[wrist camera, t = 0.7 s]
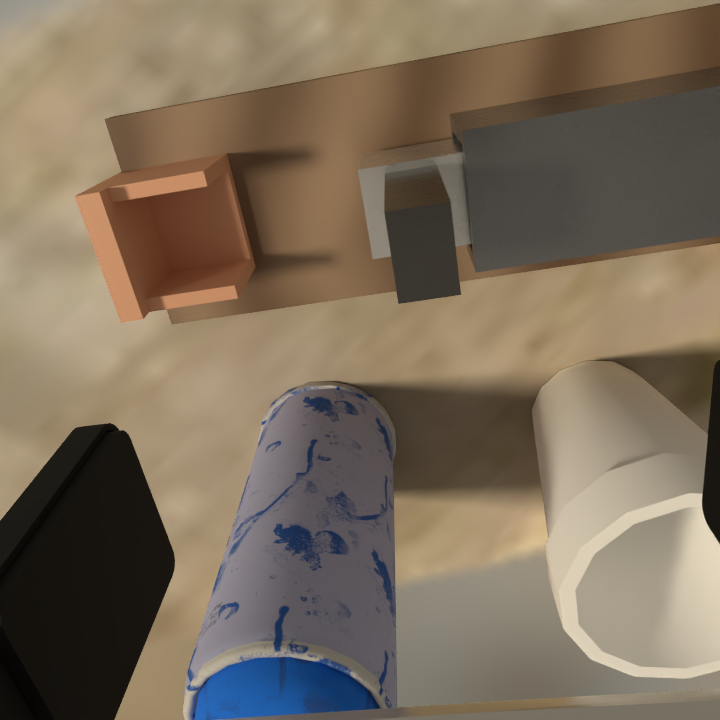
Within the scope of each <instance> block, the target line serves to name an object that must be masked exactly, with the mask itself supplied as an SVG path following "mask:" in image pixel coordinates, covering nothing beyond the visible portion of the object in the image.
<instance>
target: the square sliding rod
mask: <svg viewBox="0 0 720 720" xmlns="http://www.w3.org/2000/svg"><path fill="white" fill-rule="evenodd" d="M358 175H359V181H360V186H361V192H362V198H363V204H364V210H365V216H366V222H367V228H368V234H369V240H370V246H371V251H372V257H373V259H378V258H384V257H391V258H392V265H393V271H394V278H395V284H396V290H397V297H398V303H399V304H400V303H407V302H414V301H421V300H427V299H434V298H441V297H448V296H455V295H461V291H460V282H459V273H458V264H457V255H456V246H462V245H468V244H472V240H471V230H470V220H469V210H468V199H467V189H466V179H465V169H464V158H463V148H462V144H461V143H460V141H459V140H458V138H453V139H447V140H442V141H436V142H430V143H424V144H418V145H413V146H407V147H401V148H395V149H389V150H384V151H378V152H372V153H366V154H361V157H360V161H359V166H358Z"/></svg>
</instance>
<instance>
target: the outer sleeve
mask: <svg viewBox="0 0 720 720" xmlns="http://www.w3.org/2000/svg"><path fill="white" fill-rule="evenodd" d="M449 117H450V126H451V136H452V139H453V138H458V140H459V141H460V143H461V144H462V148H463V158H464V169H465V179H466V189H467V199H468V210H469V220H470V230H471V240H472V244H468V245H466V247H467V250H468V253H469V255H470V258H471V261H472V263H473V266H474V269H475V271H476V273H477V272H483V271H490V270H497V269H503V268H510V267H517V266H523V265H530V264H537V263H543V262H550V261H557V260H564V259H570V258H577V257H584V256H590V255H597V254H604V253H610V252H617V251H624V250H630V249H637V248H644V247H651V246H657V245H664V244H671V243H677V242H684V241H691V240H697V239H704V238H711V237H717V236H720V66H718V67H712V68H707V69H701V70H695V71H690V72H684V73H678V74H673V75H667V76H661V77H656V78H650V79H644V80H639V81H633V82H627V83H622V84H616V85H610V86H605V87H599V88H593V89H588V90H582V91H576V92H571V93H565V94H560V95H554V96H548V97H543V98H537V99H531V100H526V101H520V102H514V103H509V104H503V105H497V106H492V107H486V108H480V109H475V110H469V111H463V112H458V113H452V114H449Z"/></svg>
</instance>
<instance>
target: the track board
mask: <svg viewBox="0 0 720 720" xmlns="http://www.w3.org/2000/svg"><path fill="white" fill-rule="evenodd" d="M718 66H720V4H714V5H709V6H703V7H698V8H693V9H687V10H682V11H677V12H671V13H666V14H661V15H655V16H650V17H645V18H639V19H634V20H628V21H623V22H618V23H612V24H607V25H602V26H596V27H591V28H586V29H580V30H575V31H570V32H564V33H559V34H553V35H548V36H543V37H537V38H532V39H527V40H521V41H516V42H511V43H505V44H500V45H495V46H489V47H484V48H479V49H473V50H468V51H462V52H457V53H452V54H446V55H441V56H436V57H430V58H425V59H420V60H414V61H409V62H404V63H398V64H393V65H387V66H382V67H377V68H371V69H366V70H361V71H355V72H350V73H345V74H339V75H334V76H329V77H323V78H318V79H312V80H307V81H302V82H296V83H291V84H286V85H280V86H275V87H270V88H264V89H259V90H254V91H248V92H243V93H238V94H232V95H227V96H221V97H216V98H211V99H205V100H200V101H195V102H189V103H184V104H179V105H173V106H168V107H163V108H157V109H152V110H146V111H141V112H136V113H130V114H125V115H120V116H114V117H111V118H107V119H105V122H106V125H107V128H108V131H109V134H110V137H111V140H112V143H113V147H114V150H115V153H116V156H117V159H118V162H119V165H120V168H121V171H122V172H124V171H129V170H135V169H141V168H146V167H152V166H158V165H163V164H169V163H175V162H180V161H186V160H192V159H197V158H203V157H209V156H214V155H220V154H226V153H227V156H228V160H229V164H230V168H231V171H232V175H233V179H234V183H235V187H236V191H237V195H238V199H239V203H240V207H241V211H242V215H243V219H244V223H245V227H246V231H247V234H248V238H249V242H250V246H251V250H252V254H253V258H254V262H255V266H256V267H255V269H254V271H253V273H252V274H251V276H250V278H249V280H248V282H247V283H246V285H245V287H244V289H243V290H242V292H241V294H240V296H239V298H237V299H231V300H224V301H217V302H211V303H204V304H198V305H191V306H184V307H178V308H171V309H167V311H168V314H169V317H170V320H171V323H172V324H177V323H184V322H190V321H197V320H204V319H211V318H217V317H224V316H231V315H238V314H244V313H251V312H258V311H265V310H271V309H278V308H285V307H292V306H298V305H305V304H312V303H318V302H325V301H332V300H339V299H345V298H352V297H359V296H366V295H372V294H379V293H386V292H393V291H397V290H396V284H395V278H394V271H393V265H392V258H391V257H384V258H378V259H373V257H372V251H371V246H370V240H369V234H368V228H367V222H366V216H365V210H364V204H363V198H362V192H361V186H360V181H359V175H358V166H359V161H360V157H361V154H366V153H372V152H378V151H384V150H389V149H395V148H401V147H407V146H413V145H418V144H424V143H430V142H436V141H442V140H447V139H452V136H451V126H450V117H449V114H452V113H458V112H463V111H469V110H475V109H480V108H486V107H492V106H497V105H503V104H509V103H514V102H520V101H526V100H531V99H537V98H543V97H548V96H554V95H560V94H565V93H571V92H576V91H582V90H588V89H593V88H599V87H605V86H610V85H616V84H622V83H627V82H633V81H639V80H644V79H650V78H656V77H661V76H667V75H673V74H678V73H684V72H690V71H695V70H701V69H707V68H712V67H718ZM716 243H720V236H717V237H711V238H704V239H697V240H691V241H684V242H677V243H671V244H664V245H657V246H651V247H644V248H637V249H630V250H624V251H617V252H610V253H604V254H597V255H590V256H584V257H577V258H570V259H564V260H557V261H550V262H543V263H537V264H530V265H523V266H517V267H510V268H503V269H497V270H490V271H483V272H477V273H476V271H475V269H474V266H473V263H472V261H471V258H470V255H469V253H468V250H467V247H466V245H462V246H456V255H457V264H458V273H459V282H460V281H467V280H474V279H480V278H487V277H494V276H501V275H507V274H514V273H521V272H527V271H534V270H541V269H548V268H554V267H561V266H568V265H575V264H581V263H588V262H595V261H602V260H608V259H615V258H622V257H629V256H635V255H642V254H649V253H656V252H662V251H669V250H676V249H683V248H689V247H696V246H703V245H709V244H716Z"/></svg>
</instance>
